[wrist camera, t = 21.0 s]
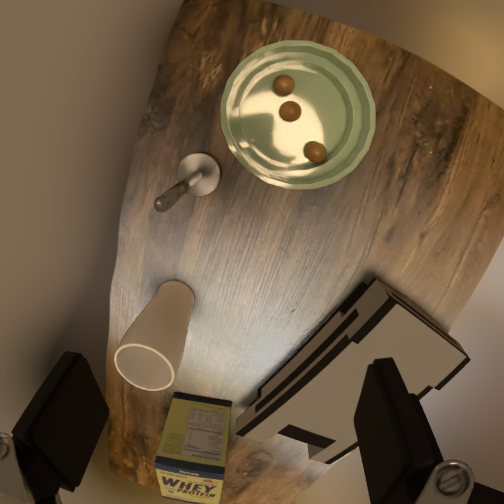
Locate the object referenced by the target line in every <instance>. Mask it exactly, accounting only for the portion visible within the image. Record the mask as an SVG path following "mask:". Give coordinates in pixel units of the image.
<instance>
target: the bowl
mask: <svg viewBox="0 0 504 504" xmlns="http://www.w3.org/2000/svg"><path fill="white" fill-rule="evenodd" d="M283 74H284V75H288V76H290V77H291V78H292V79H293V80H294V82H295V88H294V90H293V92H292V93H290V94H289V95H280V94H278V93H276V92H275V90H274V89H273V81H274V79H275V78H276V77H277V76H279V75H283ZM286 101H294V102H296V103H298V104H299V105H300V107H301V110H302V113H301V116H300V118H299V119H298V120H296V121H294V122H287V121H285V120H284V119H282V117H281V116H280V113H279V109H280V106H281V105H282V104H283V103H284V102H286ZM220 109H221V127H222V131H223V133H224V136H225V139H226V141H227V144H228V146H229V149H230V151H231V152H232V153H233V154H234V156H235V157H236V158H237V159H238V161H239V162H240V163H241V164H242V166H243V167H244V168H245V169H246V170H247V171H249V172H250V173H252V174H254V175H255V176H257V177H258V178H259V179H261V180H262V181H264V182H266V183H268V184H272V185H275V186H278V187H282V188H285V189H288V190H313V189H317V188H320V187H323V186H326V185H330V184H333V183H335V182H337V181H339V180H340V179H341V178H343V177H344V176H346V175H347V174H348V173H350V172H351V171H353V170H354V169H355V168H356V167H357V165H358V164H359V163H360V161H361V160H362V159H363V157H364V156H365V155H366V153H367V152H368V150H369V147H370V144H371V141H372V138H373V135H374V132H375V103H374V100H373V97H372V94H371V91H370V88H369V85H368V83H367V81H366V80H365V79H364V77H363V76H362V74H361V73H360V72H359V70H358V69H357V68H356V66H355V65H354V64H353V63H352V62H351V61H349V60H348V59H347V58H345V57H344V56H343V55H341V54H340V53H338V52H337V51H336V50H334V49H332V48H329V47H327V46H324V45H321V44H318V43H315V42H312V41H298V40H284V41H281V42H277V43H274V44H270V45H267V46H264V47H262V48H259V49H258V50H256V51H255V52H254V53H252V54H251V55H249V56H248V57H246V58H245V59H244V60H242V61H241V62H240V64H239V65H238V66H237V68H236V69H235V70H234V72H233V73H232V75H231V76H230V77H229V79H228V80H227V83H226V86H225V89H224V93H223V96H222V99H221V104H220ZM313 142H319V143H321V144H323V145H324V146H325V148H326V150H327V156H326V158H325V160H324V161H323V162H321V163H312V162H310V161H309V160H308V159H307V157H306V154H305V151H306V148H307V146H308V145H309V144H310V143H313Z"/></svg>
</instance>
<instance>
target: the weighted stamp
mask: <svg viewBox="0 0 504 504" xmlns="http://www.w3.org/2000/svg"><path fill="white" fill-rule="evenodd" d="M221 178H222V167H221V164H220V162H219V161H218V159H217V158H216V157H215V156H213V155H212V154H210V153H207V152H195V153H193V154H190V155H188V156H186V157H185V158H184V159H183V160H182V161H181V162H180V164H179V166H178V169H177V180H178V183H177V184H176V185H174V186H173V187H171V188H170V189H169V190H167V191H166V192H165V193H163V194H162V195H161V196H159V197H158V198H157V199H156V200H155V202H154V207H155V209H156V210H157V211H158V212H162V213H163V212H166V211H167V210H169V209H170V208H171V207H172V206H173V205H174V204H175V203H176V202H177V201H178V200H179V199H180V198H181V197H182V196H183V195H184V194H186V193H188V194H190V195H192V196H205V195H208V194H210V193H211V192H212V191H214V190H215V188H216V187H217V186H218V184H219V183H220V181H221Z"/></svg>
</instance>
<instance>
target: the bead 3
mask: <svg viewBox="0 0 504 504" xmlns="http://www.w3.org/2000/svg"><path fill="white" fill-rule="evenodd" d="M305 154H306V157H307V159H308V160H309V161H310V162H312V163H321V162H323V161H324V160H325V158H326V156H327V150H326V148H325V146H324V145H323V144H321V143H319V142H313V143H310V144H309V145H308V146H307V148H306V151H305Z"/></svg>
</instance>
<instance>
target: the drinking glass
mask: <svg viewBox="0 0 504 504" xmlns="http://www.w3.org/2000/svg"><path fill="white" fill-rule="evenodd" d="M193 306H194V295H193V293H192V291H191V289H190V288H189V287H188V286H187V285H185V284H184V283H181V282H179V281H168V282H166V283H164V284H162V285H161V286H160V287H159V289H158V290H157V292H156V294H155V295H154V296H153V298H152V299H151V300H150V301H149V303H148V304H147V305H146V307H145V308H144V309H143V310H142V312H141V313H140V314H139V315H138V317H137V318H136V319H135V320H134V322H133V323H132V324H131V326H130V327H129V329H128V330H127V332H126V333H125V335H124V337H123V338H122V340H121V342H120V344H119V346H118V348H117V350H116V352H115V356H114V362H115V365H116V368H117V370H118V371H119V373H120V374H121V375H122V376H123V377H124V378H125V379H126V380H127V381H128V382H130V383H131V384H133V385H135V386H137V387H139V388H142V389H145V390H151V391H158V390H163V389H166V388H168V387H169V386H170V385H171V384H172V383H173V381H174V379H175V376H176V374H177V371H178V369H179V366H180V363H181V360H182V356H183V352H184V347H185V342H186V337H187V331H188V326H189V321H190V317H191V312H192V309H193Z"/></svg>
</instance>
